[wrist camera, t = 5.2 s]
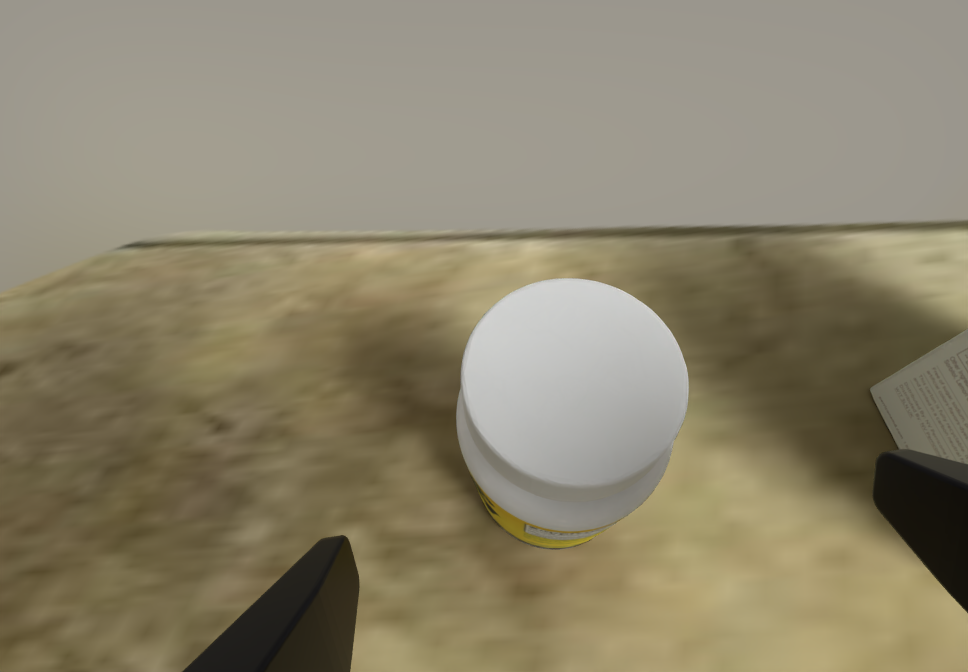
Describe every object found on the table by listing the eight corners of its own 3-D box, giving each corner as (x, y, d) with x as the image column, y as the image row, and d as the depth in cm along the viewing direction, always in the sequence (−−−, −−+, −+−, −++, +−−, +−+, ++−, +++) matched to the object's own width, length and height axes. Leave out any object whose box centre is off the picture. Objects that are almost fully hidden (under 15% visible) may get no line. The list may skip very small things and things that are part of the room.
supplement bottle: (472, 409, 20) (435, 268, 11) (606, 397, 20) (674, 244, 11) (482, 558, 17) (443, 524, 9) (637, 545, 17) (756, 498, 8)
